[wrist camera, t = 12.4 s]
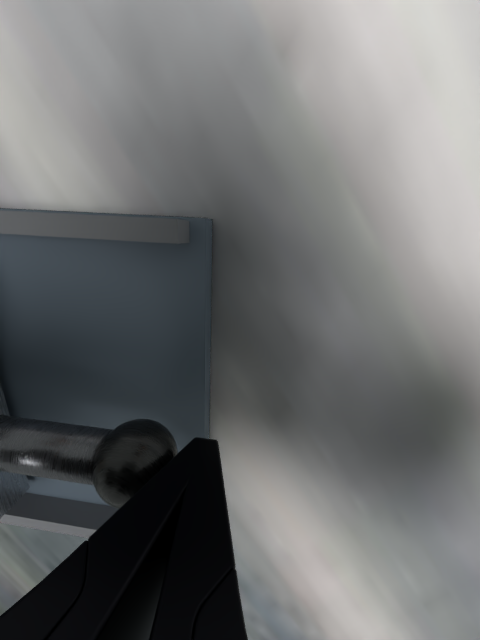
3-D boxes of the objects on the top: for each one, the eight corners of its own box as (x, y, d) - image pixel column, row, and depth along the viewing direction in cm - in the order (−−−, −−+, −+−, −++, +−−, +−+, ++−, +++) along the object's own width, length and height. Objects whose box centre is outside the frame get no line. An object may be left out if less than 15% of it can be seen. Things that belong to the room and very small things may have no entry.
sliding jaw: (196, 271, 8) (106, 317, 3) (197, 514, 11) (151, 689, 7) (-100, 251, 9) (-447, 268, 4) (-19, 479, 12) (-178, 614, 8)
